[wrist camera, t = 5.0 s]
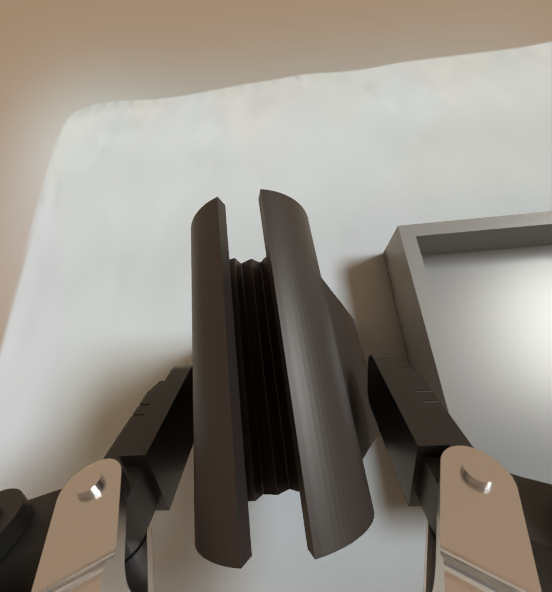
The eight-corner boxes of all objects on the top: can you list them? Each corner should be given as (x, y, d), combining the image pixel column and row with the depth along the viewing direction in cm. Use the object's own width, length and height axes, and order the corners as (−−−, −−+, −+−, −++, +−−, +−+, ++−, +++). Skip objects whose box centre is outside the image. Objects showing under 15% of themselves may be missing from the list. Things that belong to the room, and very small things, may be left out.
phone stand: (216, 449, 14) (-70, 606, 3) (212, 342, 17) (35, 227, 6) (379, 427, 14) (663, 524, 3) (353, 321, 16) (458, 153, 5)
